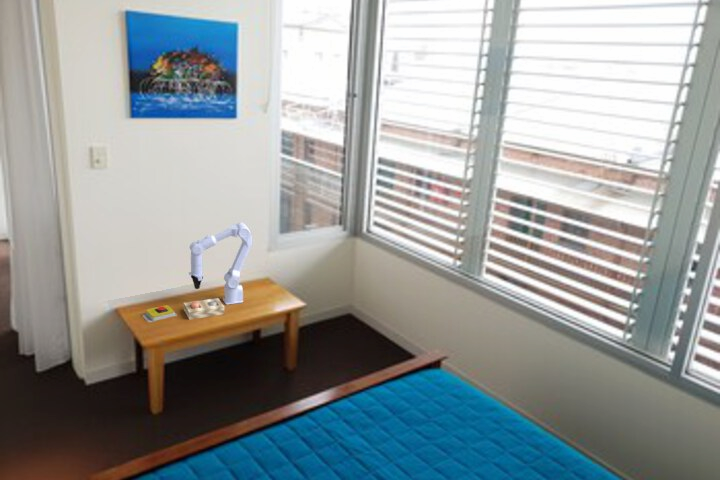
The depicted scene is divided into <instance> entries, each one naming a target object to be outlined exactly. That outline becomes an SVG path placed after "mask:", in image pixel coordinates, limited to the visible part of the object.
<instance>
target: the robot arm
mask: <svg viewBox="0 0 720 480" xmlns="http://www.w3.org/2000/svg"><path fill="white" fill-rule="evenodd" d="M230 237H235V238H238V237H239V239H241V244H240V246H239V249H238V252H237V253H236V256H235V258H234V261H233V262H232V265H231V267H230V268H229V269H228V271H227V272H226V273H225V274H224V278H223V279H224V281H225V284H224V297H223V298H222V300H223V302H224V304H225V305H234V304H240V303H241V304H242V303H244V290H243V286H242V284H240V277H241V271H242V268H243V267H244V263H245V261H246V259H247V257H248V256H249V255H248V254H249V252H250V250H251V248H252V246H253V238H252V232H251V231H250V229H249V227H248V226H247V225H246V224H245V222H241V221H239V222H237V223H236V224H233V225H231V226H230V227H228V228H225V229H224V230H223V231H222V230H221V232H219V233H217V234H215V235H212V234H211V235H208V234H207V235H206V236H205V237H203V238H202V239H198V240H196V241H193V242H191V243H190V245H189V249H190V272H188V274H189V276H190V278H191V280H192V282H193V286H194V289H195V290H198V289H200V287H201V284H202V281H203V279H204V276H203V273H204V272H203V255H202V254H203V252H204V251H207V250H209V249H210V248H212V247H214V246H216V245H217V242H219V241H222V240H224V239H228V238H230Z"/></svg>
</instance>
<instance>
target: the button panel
mask: <svg viewBox="0 0 720 480" xmlns="http://www.w3.org/2000/svg"><path fill="white" fill-rule="evenodd" d="M195 301H197V302H199V308H195V309H191V303H192V302H195ZM211 301H215V302H217V305H215V306H209V302H211ZM183 311H184V312H185V314H186V316H187V318H188V320H195V319H201V318H202V319H203V318H207V317H208V318H209V317H214V316H221V315H225V313H226V312H225V305H224V304H223V303H222V301H221V300H220V298H218V297H215V298H208V299H203V300H201V299H200V300H194V301H186V302H183Z"/></svg>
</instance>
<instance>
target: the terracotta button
mask: <svg viewBox="0 0 720 480" xmlns="http://www.w3.org/2000/svg"><path fill="white" fill-rule="evenodd" d="M194 301H195V302H194ZM194 301H191V302H192V303H191V309H195V308H199V302H197V301H198V300H194Z"/></svg>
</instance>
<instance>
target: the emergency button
mask: <svg viewBox="0 0 720 480" xmlns="http://www.w3.org/2000/svg"><path fill="white" fill-rule="evenodd" d="M177 316H178V314H177V313H176V312H175V311H174V310H173V309H172V307H170V306H169V305H167V304H166V305H162V306H161V305H160V306H156V307H154V308H153V307H152V308H148V309H146V311H145V314H142V316H141V317H142V318H143V319H145V321H146V322H147V323H152V322H157V321H161V320H165V319H169V318H172V317H177Z"/></svg>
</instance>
